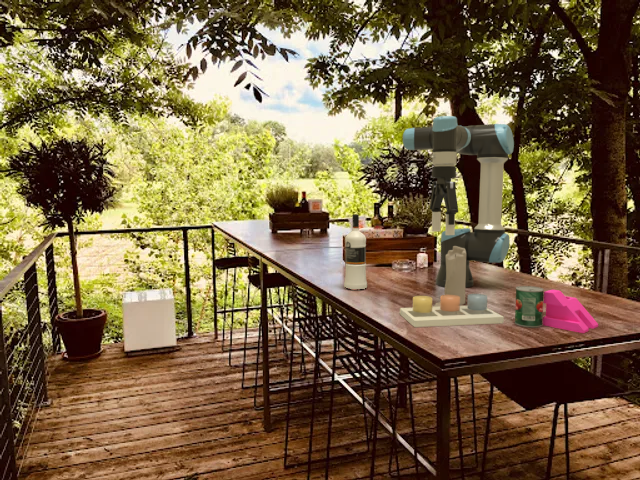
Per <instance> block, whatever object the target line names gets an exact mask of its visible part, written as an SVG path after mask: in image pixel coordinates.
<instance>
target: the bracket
mask: <svg viewBox="0 0 640 480" xmlns="http://www.w3.org/2000/svg"><path fill="white" fill-rule="evenodd" d="M543 304H545V316H543V320H542V326H546V327H552V328H555V329H560V330H564V331H571V332H575V333H580V334H585V333H588V332H589V331H590V330H589V329H597V328H598V327H599V323H598V322H597V321H596V320H595V319H594V317H593V316H592V315H591V313H590V312H588V310H587V309H586V308H585V307H584V305H583V304H582V303H581V302H580V301H579V299H578V298H577V297H572V296H566V295H565V294H564V293H563V292H562V291H561V290H558V289H549V290H546V291H545V290H544V296H543Z"/></svg>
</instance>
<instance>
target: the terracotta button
mask: <svg viewBox="0 0 640 480" xmlns="http://www.w3.org/2000/svg"><path fill="white" fill-rule="evenodd" d="M439 302H440V309H441V310H443V311H450V312H454V311H459V310H460V306H461V305H460V297H459V296H456V295H444V294H442V295H440V301H439Z"/></svg>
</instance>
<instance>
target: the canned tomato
mask: <svg viewBox="0 0 640 480" xmlns="http://www.w3.org/2000/svg"><path fill="white" fill-rule="evenodd" d="M544 289H545V288H542V287H540V286H533V285H532V286H531V285H522V286H521V285H519V286H516V287H515V305H514V306H515V309H514V313H515V314H514V324H515V325H517V326H519V327H523V328H542V327H543V317H544V316H543V315H544V314H543V313H544V311H543V310H544V292H545V290H544Z"/></svg>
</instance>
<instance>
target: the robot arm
mask: <svg viewBox="0 0 640 480" xmlns="http://www.w3.org/2000/svg"><path fill="white" fill-rule="evenodd" d="M432 122H433V123H432V126H429V127H412V128H410V127H409V128H406V129H405V130H404V132H403V134H402V145H403V147H404V149H406V150H408V151H421V150H424V151H425V150H429V151H431V150H432V155H430V159H432V161H431V165H433V166H432V168H431V177H432V179H436V181H433V182H432V190H431V197H430V203H429V210H431V214H432V215H431V232H441V223H442V222H441V221H442V219H441V217H442V209H441V207H442V204H443V203H442V202H443V201H444V204H445V213H444V215H445V230H444V231H442V232H441V235H440V237H441V238H440V242H439V243H440V266H439V269H438V272H437V274H436V276H435V277H436V278H435V284H436V286H439V287H444V288H445V284H446V254H448V251H449V250H453V246H458V247H460V248H465V250H466V281H465V288H471V287H473V286H474V278H473V274H472V270H471V267H470V261H471V262H479V263H480V262H481V263H484V262H485V263H489V264H490V263H491V264H492V263H499V264H500V263H502V262H503V261H504V260H505V259H506V257H507V256H508V255H507V254H508V252H509V248H510V243H511V242H510V241H511V240H510V235H509V233H506V228H505V227H504V226H503V225H502V208H503V189H504V187H503V186H504V185H503V184H504V164H505V163H506V162H507V161H508V160H509V155H512V153H513V152H514V148H515V146H514V145H515V141H514V134H513V132H512V129H511V127H510V126H509V125H508V124H506V123H492V124H491V123H490V124H477V125H468V126H462V125H458V118H457V117H456V116H452V115H441V116H436V117H435V118H433V121H432ZM457 154H461V155H468V156H476V160H477V161H478V162H479V163H480V179H479V199H478V200H479V203H478V224H477V225H476V226H475V227H474V228H473V232H472V229H470V227H468V228H467V227H464V228H463V227H462V228H456V225H455V224H456V214H457V213H459V205H458V204H459V203H458V198H457V190H456V188H457V187H456V181H452V179H455V178H456V177H457V167H456V166H455V165H457Z"/></svg>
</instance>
